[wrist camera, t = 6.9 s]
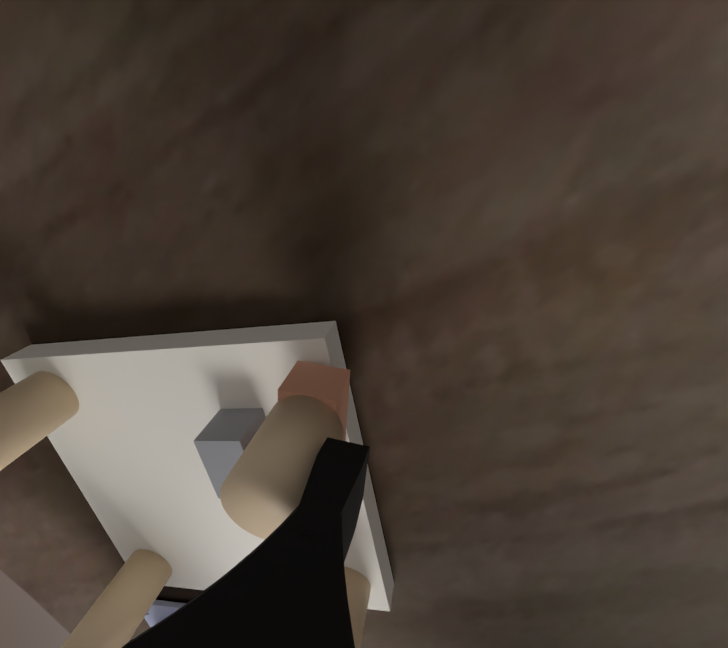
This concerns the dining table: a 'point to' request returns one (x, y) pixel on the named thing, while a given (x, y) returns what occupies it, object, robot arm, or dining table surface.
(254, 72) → the dining table surface
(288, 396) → the folding leg
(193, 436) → the stool seat
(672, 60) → the dining table surface
